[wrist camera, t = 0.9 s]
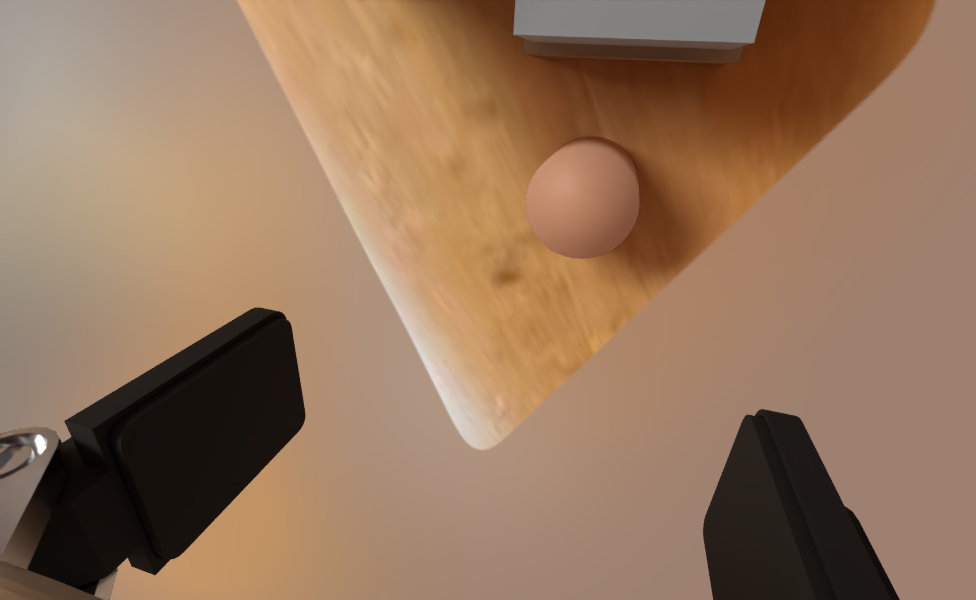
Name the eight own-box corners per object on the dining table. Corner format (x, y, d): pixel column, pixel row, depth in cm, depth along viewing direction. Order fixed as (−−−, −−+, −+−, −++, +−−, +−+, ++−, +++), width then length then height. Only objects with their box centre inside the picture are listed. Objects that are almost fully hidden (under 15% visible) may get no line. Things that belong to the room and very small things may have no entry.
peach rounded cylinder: (545, 132, 28) (530, 142, 24) (647, 140, 27) (650, 152, 22) (536, 226, 31) (521, 250, 26) (628, 238, 29) (627, 265, 25)
